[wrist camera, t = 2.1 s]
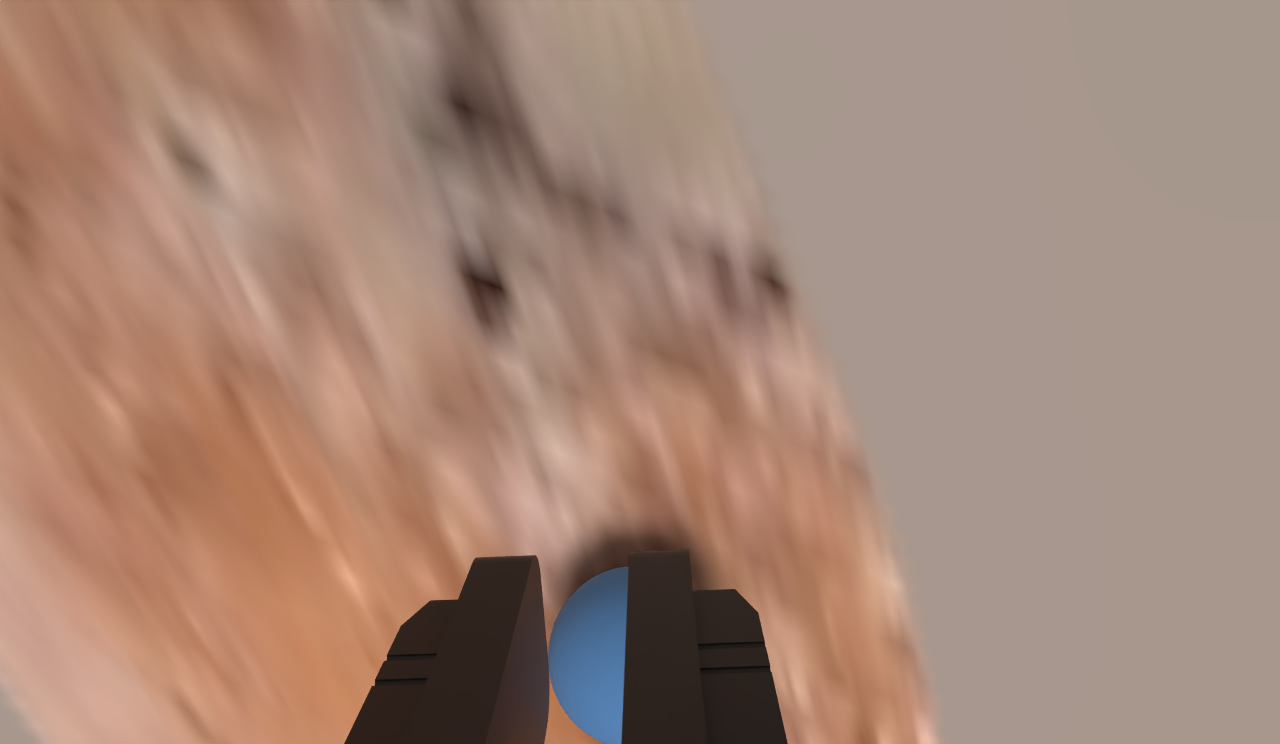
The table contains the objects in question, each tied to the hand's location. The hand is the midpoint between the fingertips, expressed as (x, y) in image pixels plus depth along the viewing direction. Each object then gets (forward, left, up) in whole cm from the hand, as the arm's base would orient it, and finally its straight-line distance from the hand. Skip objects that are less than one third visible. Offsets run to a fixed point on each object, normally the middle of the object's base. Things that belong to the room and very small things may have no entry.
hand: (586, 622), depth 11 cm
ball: (+9, 0, -13) cm, 15 cm away
